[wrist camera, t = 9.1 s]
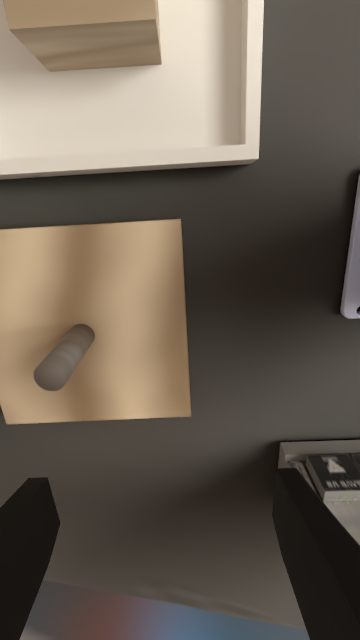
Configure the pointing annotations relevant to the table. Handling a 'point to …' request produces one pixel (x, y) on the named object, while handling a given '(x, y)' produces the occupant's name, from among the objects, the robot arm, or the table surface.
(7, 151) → the tray
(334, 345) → the table surface
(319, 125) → the table surface
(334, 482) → the tall grey upright box
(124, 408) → the tan base plate
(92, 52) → the collar
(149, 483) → the table surface
